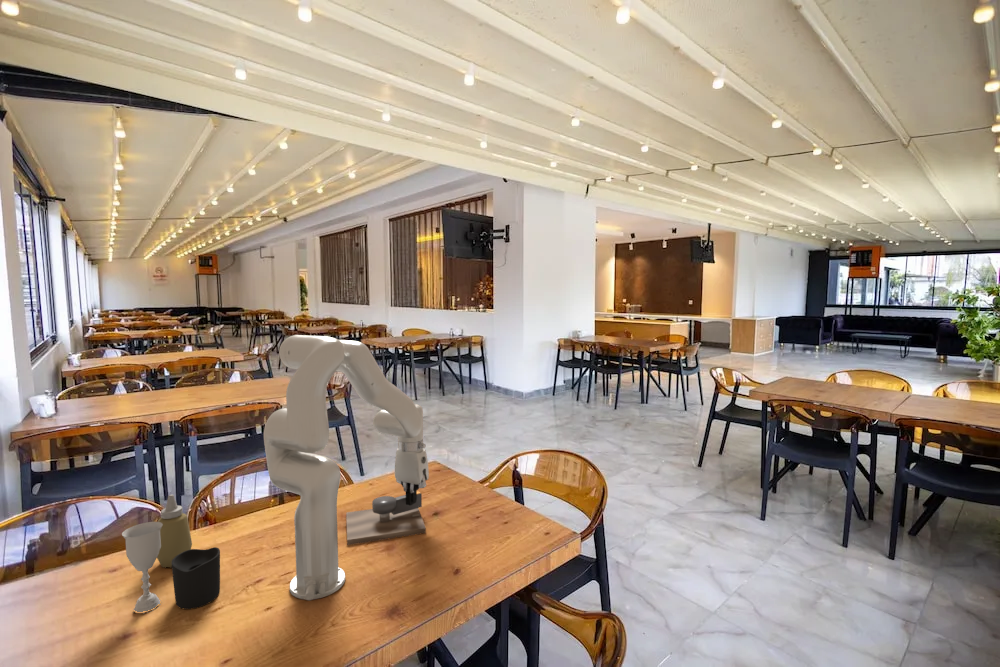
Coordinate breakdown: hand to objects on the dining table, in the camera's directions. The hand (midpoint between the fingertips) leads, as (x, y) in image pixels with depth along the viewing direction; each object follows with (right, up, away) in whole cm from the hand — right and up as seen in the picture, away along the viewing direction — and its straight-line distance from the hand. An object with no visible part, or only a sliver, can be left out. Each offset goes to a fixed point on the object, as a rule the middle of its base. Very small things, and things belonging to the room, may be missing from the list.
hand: (411, 503), depth 149 cm
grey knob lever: (-4, -3, 0) cm, 5 cm away
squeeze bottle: (-58, -8, -23) cm, 62 cm away
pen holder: (-42, -9, -37) cm, 57 cm away
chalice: (-52, -9, -41) cm, 66 cm away
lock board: (-8, -6, -2) cm, 10 cm away
